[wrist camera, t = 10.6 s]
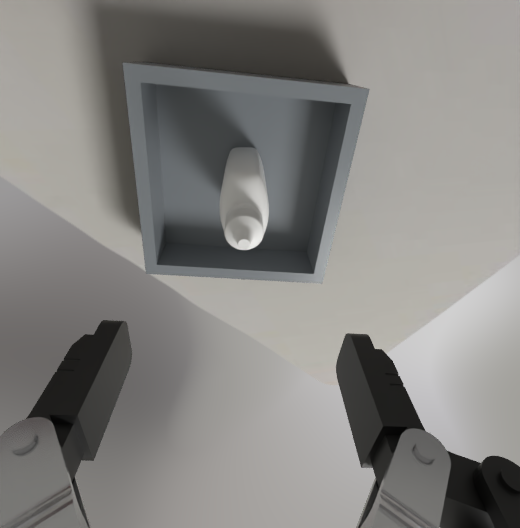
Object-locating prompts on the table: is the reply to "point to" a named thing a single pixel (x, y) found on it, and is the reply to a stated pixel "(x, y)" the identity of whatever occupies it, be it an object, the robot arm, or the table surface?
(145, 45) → the table surface
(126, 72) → the box
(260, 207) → the eye dropper bottle
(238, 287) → the table surface
